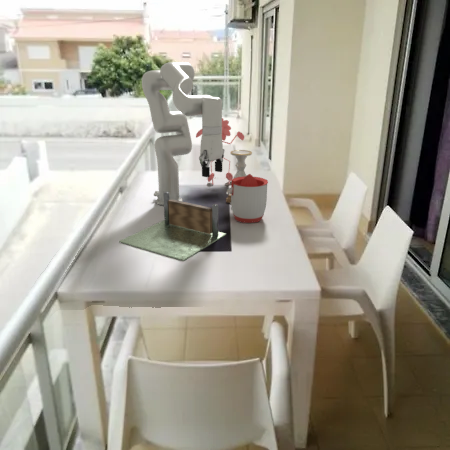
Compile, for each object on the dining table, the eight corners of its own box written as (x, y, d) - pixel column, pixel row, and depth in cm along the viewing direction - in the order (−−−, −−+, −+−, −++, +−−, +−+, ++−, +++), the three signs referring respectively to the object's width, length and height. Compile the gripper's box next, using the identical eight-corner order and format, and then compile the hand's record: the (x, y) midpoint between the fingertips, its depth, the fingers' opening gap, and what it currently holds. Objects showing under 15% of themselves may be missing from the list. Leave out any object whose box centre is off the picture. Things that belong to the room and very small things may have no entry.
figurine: (244, 184, 239) (245, 119, 228) (197, 185, 236) (196, 119, 224) (239, 177, 254) (240, 115, 242) (195, 179, 250) (194, 116, 238)
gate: (169, 224, 179) (168, 200, 175) (172, 222, 181) (171, 199, 177) (209, 234, 169) (209, 209, 166) (212, 232, 171) (212, 207, 167)
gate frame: (119, 242, 164) (116, 206, 159) (166, 220, 186) (164, 188, 181) (183, 261, 149) (182, 222, 144) (226, 234, 172) (226, 200, 167)
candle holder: (225, 202, 210) (225, 153, 201) (233, 196, 219) (234, 148, 211) (247, 205, 206) (248, 155, 197) (254, 198, 215) (256, 150, 207)
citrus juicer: (224, 213, 195) (224, 169, 188) (263, 212, 197) (264, 169, 189) (228, 226, 181) (228, 179, 173) (269, 225, 182) (271, 178, 175)
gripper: (215, 127, 176) (215, 168, 182) (191, 132, 162) (192, 177, 168) (231, 128, 172) (231, 170, 178) (208, 134, 158) (208, 180, 164)
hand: (212, 174), depth 173 cm, fingers open, 9 cm apart
